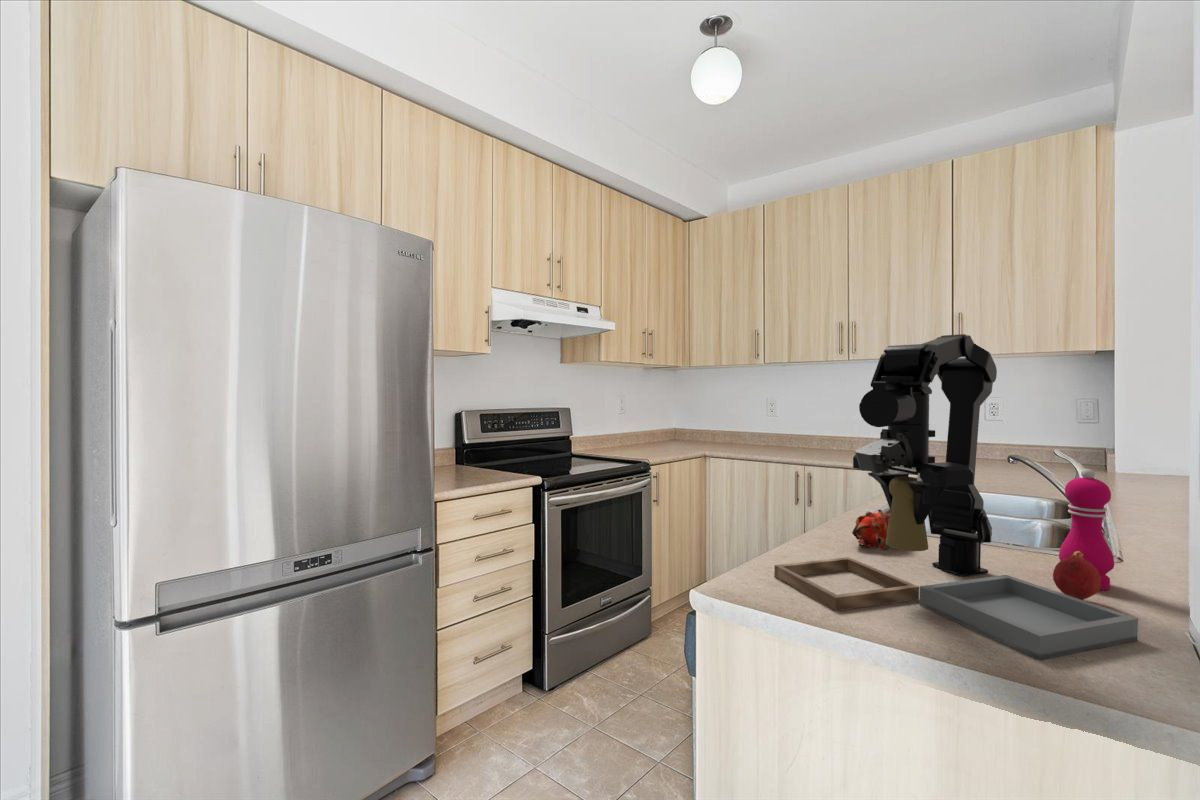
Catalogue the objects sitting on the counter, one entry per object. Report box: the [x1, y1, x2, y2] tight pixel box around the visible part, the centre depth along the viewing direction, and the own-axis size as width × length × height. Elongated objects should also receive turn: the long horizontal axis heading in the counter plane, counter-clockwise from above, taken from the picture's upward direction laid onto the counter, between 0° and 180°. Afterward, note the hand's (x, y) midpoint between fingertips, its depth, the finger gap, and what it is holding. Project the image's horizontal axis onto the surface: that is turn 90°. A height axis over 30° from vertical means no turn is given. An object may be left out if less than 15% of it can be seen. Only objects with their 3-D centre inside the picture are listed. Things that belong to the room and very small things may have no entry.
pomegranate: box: [1052, 551, 1101, 601], centre depth 88 cm, size 6×6×8 cm
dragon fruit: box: [851, 509, 891, 551], centre depth 118 cm, size 8×8×12 cm
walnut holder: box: [774, 556, 920, 612], centre depth 95 cm, size 16×16×2 cm
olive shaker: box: [886, 476, 929, 552], centre depth 89 cm, size 6×6×11 cm
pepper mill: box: [1058, 468, 1115, 591], centre depth 96 cm, size 7×7×20 cm
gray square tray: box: [919, 574, 1139, 661], centre depth 81 cm, size 18×18×3 cm
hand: (907, 520), depth 89 cm, fingers closed on olive shaker, 4 cm apart
